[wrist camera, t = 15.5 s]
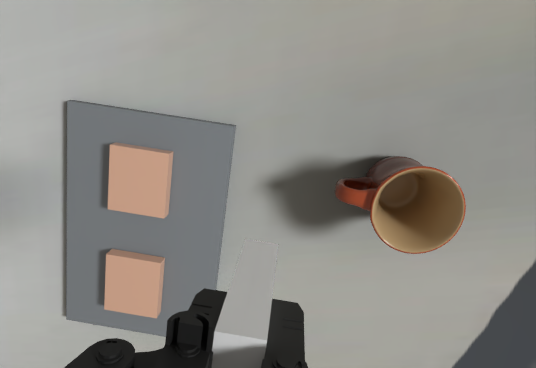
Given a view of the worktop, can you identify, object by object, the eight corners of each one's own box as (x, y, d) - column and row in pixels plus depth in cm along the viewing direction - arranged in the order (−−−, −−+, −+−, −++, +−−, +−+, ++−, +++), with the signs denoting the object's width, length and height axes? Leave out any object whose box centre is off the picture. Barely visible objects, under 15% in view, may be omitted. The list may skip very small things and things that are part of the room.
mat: (72, 100, 47) (67, 100, 46) (235, 125, 46) (234, 126, 45) (71, 314, 55) (66, 319, 54) (210, 338, 54) (208, 344, 53)
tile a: (174, 151, 46) (116, 142, 47) (169, 153, 45) (109, 144, 45) (169, 213, 49) (114, 204, 49) (164, 218, 47) (107, 209, 47)
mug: (439, 154, 45) (478, 176, 36) (418, 223, 48) (450, 261, 38) (337, 136, 46) (348, 152, 36) (322, 205, 48) (328, 238, 38)
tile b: (165, 256, 50) (112, 247, 50) (160, 263, 48) (106, 254, 49) (161, 310, 52) (110, 301, 53) (156, 318, 51) (104, 309, 51)
